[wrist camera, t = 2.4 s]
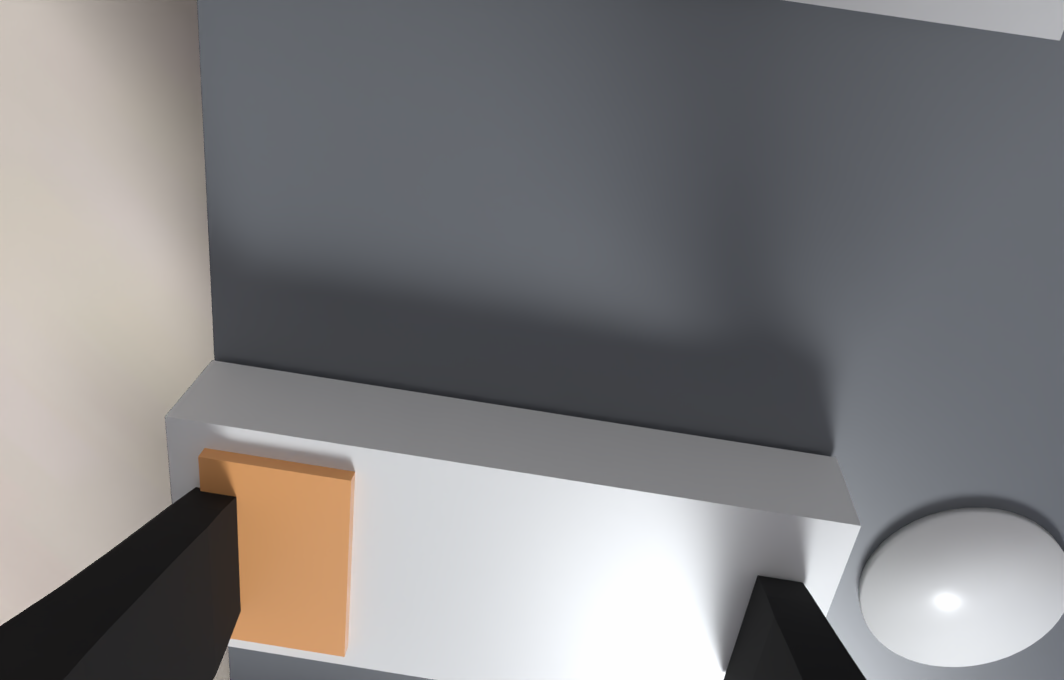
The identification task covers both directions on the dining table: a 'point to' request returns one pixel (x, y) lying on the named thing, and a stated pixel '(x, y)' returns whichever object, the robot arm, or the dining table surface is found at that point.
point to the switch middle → (496, 530)
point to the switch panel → (681, 260)
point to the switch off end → (969, 13)
